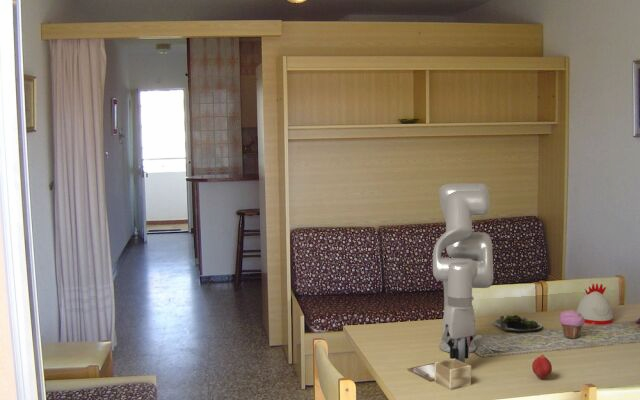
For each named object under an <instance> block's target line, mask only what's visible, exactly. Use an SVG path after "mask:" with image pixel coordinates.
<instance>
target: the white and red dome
mask: <svg viewBox="0 0 640 400" xmlns="http://www.w3.org/2000/svg"><path fill="white" fill-rule="evenodd" d="M591 285H592V286H588V291H587V289H585V288H584V291H585V295H584V296H583V297H582V298H581V300H579V302H578V305H577V308H576V311H577V312H579V313H580V314H581V315H582V316H583V317H584V320H585V322H584V324H588V325H597V326H599V325H600V326H603V325H604V326H605V325H610V324H612V323H614V315H613V310H612V307H611V305H610V301H609V300H608V298H607V297H606V296H605V295H604V293H605V291H606V289H607V287H606V286H604V287H603V283H600V285H599V284H598V283H592V284H591Z"/></svg>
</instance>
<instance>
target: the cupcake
mask: <svg viewBox="0 0 640 400" xmlns="http://www.w3.org/2000/svg"><path fill="white" fill-rule="evenodd" d="M558 318H559V321H558V322H559V323H560V325H561V327H562V333H563V336H564V337H565V338H570V339H576V338H578V337H580V336H581V332H582V327H583V326H584V325H585V323H584V322H585V320H584V317H583V316H582V315H581V314H580V313H579V312H577V310H563V311H562V312H561V313H560V314H559V317H558Z"/></svg>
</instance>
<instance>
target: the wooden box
mask: <svg viewBox="0 0 640 400" xmlns="http://www.w3.org/2000/svg"><path fill="white" fill-rule="evenodd" d="M434 363H435V362H434ZM434 382H435V383H436V384H439V385H440V386H443V387H444V388H446V389H449V390H450V391H453V390H456V389H461V388H465V387H468V386H469V387H470V386H471V385H472V365H471V364H468V363H466V362H465V363H463V362H461V361H459V360H457V359H450V358H449V359H445V361H444V360H441V362H440V361H436V363H435V381H434Z"/></svg>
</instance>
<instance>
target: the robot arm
mask: <svg viewBox="0 0 640 400" xmlns="http://www.w3.org/2000/svg"><path fill="white" fill-rule="evenodd" d="M438 199H439V206H440V209H441V212H442V214H443V218H444V220H445V232H444V233H443V234H442V235H441V236H440V237H439V238H438V240H437V241H436V243H435V245H434V248H433V251H432V274H433V277H434V279H436V280H437V281H441V282H442V283H443V317H442V318H443V319H442V326H441V327H442V330H441V331H442V336H441V342H440V343H439V349H440V350H442V351H444V352H447V353H449V360H450V359H457V360H458V348H456V347H457V340H458V339H459V338H462V337H465V360H467V359H468V360H469V353H473V352H474V351H476V349H477V345H476V344H475V342H476V341H481V340H482V338H483V337H482V335H481V334H478V333H477V331H476V318H475V316H476V315H475V309H474V305H473V301H474V296H473V289H487V288H488V289H489V288H490V287H491V286H492V285H493V283H494V261H493V257H494V255H493V244H492V238H491V236H490V235H489V234H488V233H487V232H480V231H477V232H476V231H473V219H472V217H473V216H486V215H488V213H489V212H490V207H491V198H490V192H489V188H488V186H487V184H485V183H479V182H478V183H475V182H474V183H471V182H470V183H466V182H465V183H463V182H462V183H461V182H460V183H458V182H457V183H456V182H454V183H447V184H442V186H440V187H439V191H438ZM445 249H446V253H447V255H448V257H442V253H443V252H444V250H445Z"/></svg>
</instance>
